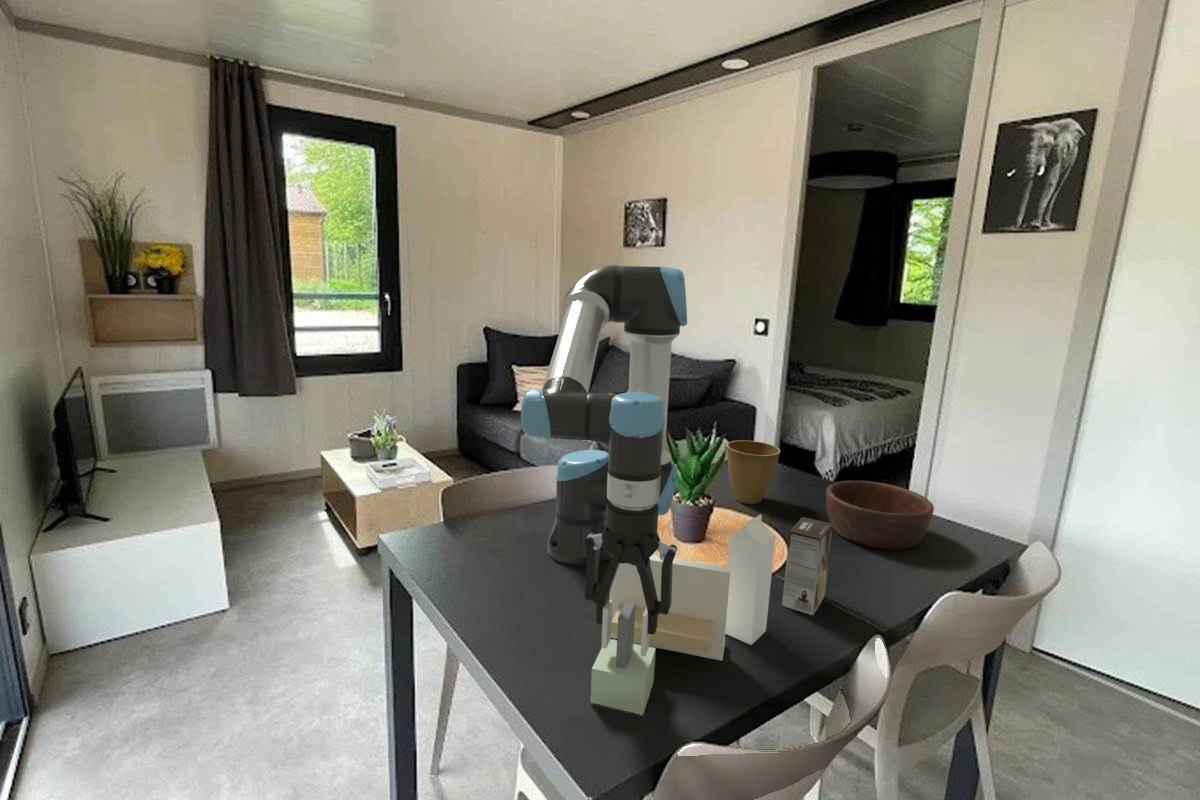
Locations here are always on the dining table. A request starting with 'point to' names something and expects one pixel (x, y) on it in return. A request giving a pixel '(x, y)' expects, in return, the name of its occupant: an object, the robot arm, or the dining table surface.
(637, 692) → the green block with handle
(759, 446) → the plant pot
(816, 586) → the coffee box
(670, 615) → the wall board
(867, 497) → the wooden bowl
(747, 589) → the milk
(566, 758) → the dining table surface
